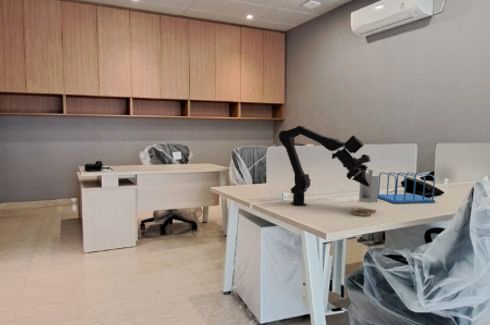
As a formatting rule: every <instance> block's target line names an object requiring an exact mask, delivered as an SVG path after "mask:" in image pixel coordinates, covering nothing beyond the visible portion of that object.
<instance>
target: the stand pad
mask: <svg viewBox="0 0 490 325" xmlns="http://www.w3.org/2000/svg"><path fill="white" fill-rule="evenodd" d="M357 210H364V211H369V212H371V215H372V214H373V215H374V214H376V212H377V210H376V209H370V208H369V209H368V208H358V209H357Z"/></svg>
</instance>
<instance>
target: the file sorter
mask: <svg viewBox="0 0 490 325" xmlns="http://www.w3.org/2000/svg"><path fill="white" fill-rule="evenodd" d="M382 174H384V175H387V185H386V194H385V193H384V194H381V193H380V188H381V186H380V183H381V175H382ZM378 176H379V179H378V197H377V199H381V200H383V201H386V202H389V203H392V204H395V205H398V204H399V205H400V204H436V200H435V199H434V194H435V185H436V184H435V183H436V178H435V176H434V175H432V174H430V173H429V174H428V173H423V172H416V173H415V172H409V171H408V172H407V173H405V172H401V171H400V172H398V173H396V172H388V173H386V172H379V175H378ZM390 176H391V177H394V182H395V183H394V193H393V194H392V193H389V184H390V182H389V181H390ZM399 176H401V177H403V178H404V189H403V190H404V193H398V185H399V184H398V183H399V182H398V181H399ZM408 176H411V177H413V179H414V180H413V190H412V191H413V192H412V193H409V194H408V193H407V183H408V182H407V181H408V180H407V179H408ZM417 176H421V177H422V179H423V189H422V190H423V191H422V195H419V194H416V186H417V185H416V184H417V179H416V178H417ZM425 176H429V177H432V178H433V184H432V195H431V198H429V197H426V196H425V189H426V177H425Z"/></svg>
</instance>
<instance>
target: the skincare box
mask: <svg viewBox="0 0 490 325" xmlns="http://www.w3.org/2000/svg"><path fill="white" fill-rule="evenodd" d="M378 185H379V175H378V174H372V190H371V198H370V199H365V198H361V190H362V184H361V183H359V192H358V194H359V195H358V196H359V197H358V202H360V203H375V202H376V203H377V202H378V198H377V197H378Z"/></svg>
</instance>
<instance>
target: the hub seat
mask: <svg viewBox="0 0 490 325" xmlns="http://www.w3.org/2000/svg"><path fill="white" fill-rule="evenodd" d="M350 214H351V215H353V216H355V217H362V218H369V217H371V216H372V213H371V212H369V211H364V210H358V209H354V210H353V209H352V211H351V213H350Z"/></svg>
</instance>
